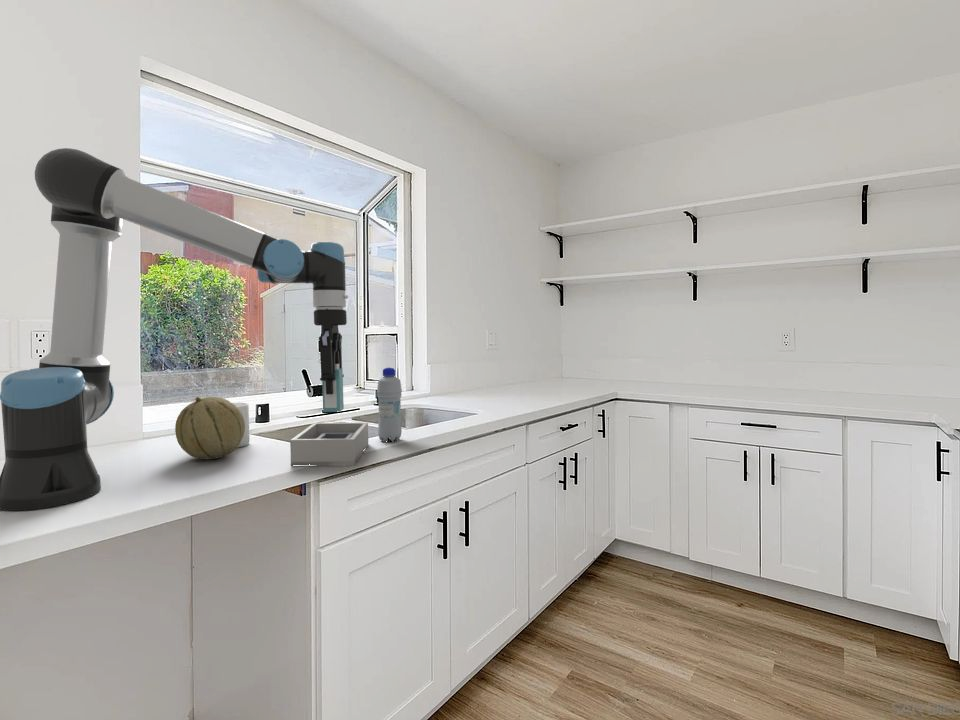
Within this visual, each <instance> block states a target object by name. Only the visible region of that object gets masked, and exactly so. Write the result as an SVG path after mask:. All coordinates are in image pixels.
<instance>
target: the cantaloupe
mask: <svg viewBox="0 0 960 720" xmlns="http://www.w3.org/2000/svg"><path fill="white" fill-rule="evenodd" d="M232 403H233V402H231V401H229V400H228V399H225V398H223V397H218V396H208V397H204V398H200V397H199V396H197V397H195V401H193V402H191V403H189V404H188V405H186V406H185V407H184V408H183V409H181V411H180V412H179V414H178V416H177V418H176V422H175V425H174V426H175V427H174V429H175V430H174V432H175V437H176V438H175V439H176V441H177V443H178V445H179V446H180V448H181V449H182V450H183V451H184V452H185V453H186V454H187V455H189V456H190V457H193V458H195V459H199V460H213V459H214V460H215V459H219V458H223V457H225V456H227V455H230V454H231V453H232V452H233V451H234V450H235V449H238V448H237V446H238V445H239V443H240V442H241V440H242V438H243V436H244V431H245V422H244V418H243V415H242V414H241V412H240V411H239V409H238V408H237V407H236V406H235V405H234V404H232Z"/></svg>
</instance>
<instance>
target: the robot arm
mask: <svg viewBox="0 0 960 720" xmlns="http://www.w3.org/2000/svg"><path fill="white" fill-rule="evenodd" d="M34 168H35V169H34V181H35V183H36V186H37V188H38V191H39V192H40V194H42V196H43V197H44V198H45V200H47V202H48V203H51V215H50V225H51V226H52V227H54V229H55V230H56V231H57V232H58V234H59V237H58V239H59V241H58V249H57V250H58V252H57V263H56V264H57V265H56V277H55V289H54V300H53V313H52V324H51V337H50V338H51V339H50V349H49V352H48V353H47V354H46V355H45V356H43V357H42V358H40V359H39V364H38V365H39V366H38V367H36V368H31V369H29V370H28V369H24V370H19V371H15V372H12V373H9V374H7V375H6V376H4V378H3V379H2V380H1V383H0V385H1V387H0V388H1V389H0V390H1V391H0V405H1V414H2V415H1V417H2V429H3V432H2V433H3V444H4V458H5V459H4V460H5V461H4V464H3V468H2V470H1V473H0V510H2V509H5V510H4V511H28V510H39V509H47V508H52V507H57V506H62V505H66V504H72V503H74V502H78V501H82V500H83V499H87V498H90V497H92V496H95V495H96V494H97V493H99V492H100V491H101V490H102V489H101V488H102V486H101V485H102V484H101V483H102V482H101V476H100V474H98V471H97V469H96V466H95V463H94V461H93V459H92V457H91V455H90V453H89V451H88V449H89V448H88V438H87V437H88V435H87V434H88V432H87V431H88V430H87V425H90V424H91V423H94V422H95V421H97V420H98V419H100V418H102V416H104V414H105V413H106V412H107V411H108V410H109V408H110V407H111V405H112V403H113V401H114V397H115V396H114V395H115V391H114V385H113V382H111V380H110V372H111V371H110V370H111V363H110V361H108V359H107V358H105V357H104V355H103V350H104V340H105V329H106V327H105V326H106V317H107V316H106V314H107V307H108V305H107V304H108V303H107V302H108V291H109V280H110V279H109V278H110V269H111V257H112V245H113V243H114V241H116V240H117V239H119V238H120V237H122V230H123V223H124V222H123V221H127V222H130V223H133V224H134V225H137V226H139V227H143V228H146V229H149V230H152V231H155V232H156V233H159V234H161V235H164V236H168V237H170V238H171V239H175V240H177V241H180V242H184V243H186V244H189V245H191V246H194V247H197V248H200V249H202V250H205V251H206V252H209V253H213V254H214V255H218V256H219V257H224V258H227V259H228V260H230V261H234V262H236V263H239V264H242V265H245V266H247V267H249V268H252V269H255V270H256V274H257V280H258V281H259V282H261V283H265V284H273V285H274V284H312V304H313V305H312V306H313V308H315V310H314V311H313V324H314V325H315V326H318V327H319V326H321V327H322V332H321V333H320V336H319V337H318V342H319V343H318V344H319V351H320V353H319V354H320V355H319V356H320V374H321V375H320V378H319V380H320V381H321V382H322V381H324V399H325V408H337V390H336V380H335V364H339V368H342V369H343V360H342V359H343V358H342V356H343V355H342V353H343V352H342V351H343V350H342V341H343V340H342V339H343V336H342V334H341V333H340V332H339V326H346V325H347V323H348V322H347V321H348V320H347V311H346V309H344V308H346V307H347V300H346V299H348V298H349V295H348V294H346V261H345V248H344V246H343V245H342V244H341V243H338V242H333V241H332V242H331V241H319V242H312V244H311V246H310V247H311V248H310V250H301V248H300V247H299V245H297V244H296V242H293V241H291V240H290V239H289V240H288V239H286V238H285V239H284V238H281V239H280V238H278V237H275V236H273V235H269V234H267V233H265V232H262V231H261V230H257V229H256V228H253V227H250V226H248V225H245V224H244V223H240V222H239V221H236V220H233V219H231V218H228V217H226V216H224V215H221V214H219V213H216V212H213V211H211V210H209V209H207V208H203V207H201V206H198V205H196V204H193V203H192V202H188V201H186V200H183V199H181V198H179V197H176V196H173V195H171V194H169V193H167V192H164V191H161V190H159V189H156V188H154V187H151V186H149V185H146V184H144V183H141V182H139V181H137V180H134V179H132V178H130V177H129V176H128V174H127V172H126V171H125V170H124V169H121V168H119V167H117V166H114V165H112V164H109V163H108V162H105V161H104V160H101V159H99V158H97V157H96V156H93V155H91V153H90V154H89V153H88V152H86V151H82V150H80V149H75V148H67V147H64V148H56V149H53V150H50V151H48V152H46V153H45V154H43V155H42V156H41V158H39V160H38V162H37V163H36V166H35V167H34ZM344 376H345V375H344V373H343V378H344Z"/></svg>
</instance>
